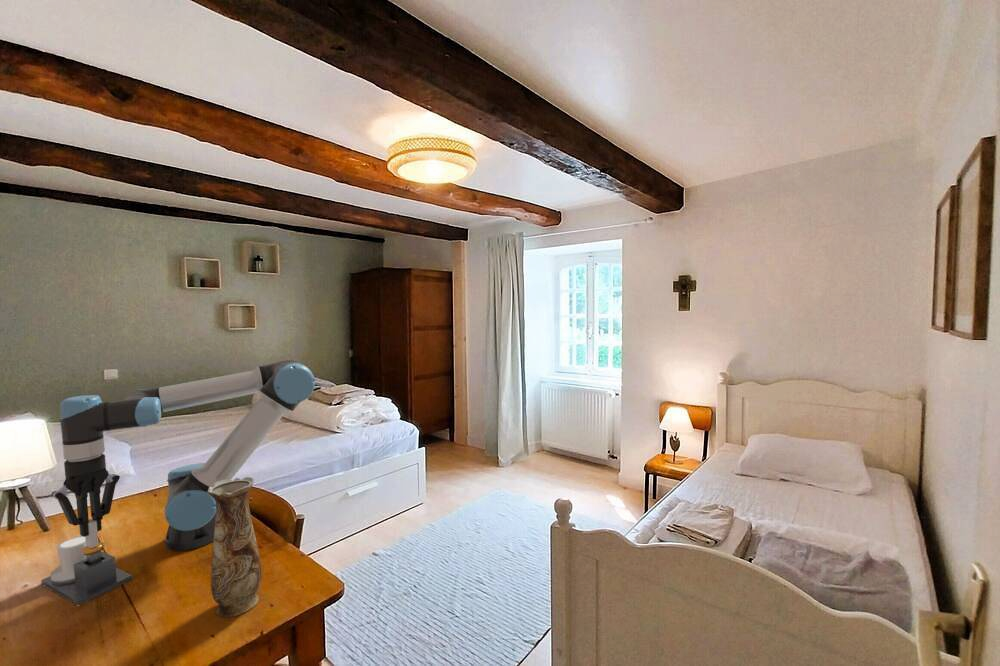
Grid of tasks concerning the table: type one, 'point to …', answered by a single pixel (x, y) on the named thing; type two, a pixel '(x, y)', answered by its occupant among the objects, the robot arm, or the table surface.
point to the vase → (234, 549)
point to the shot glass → (71, 553)
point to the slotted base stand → (90, 580)
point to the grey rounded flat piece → (61, 577)
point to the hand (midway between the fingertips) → (92, 545)
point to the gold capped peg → (93, 553)
